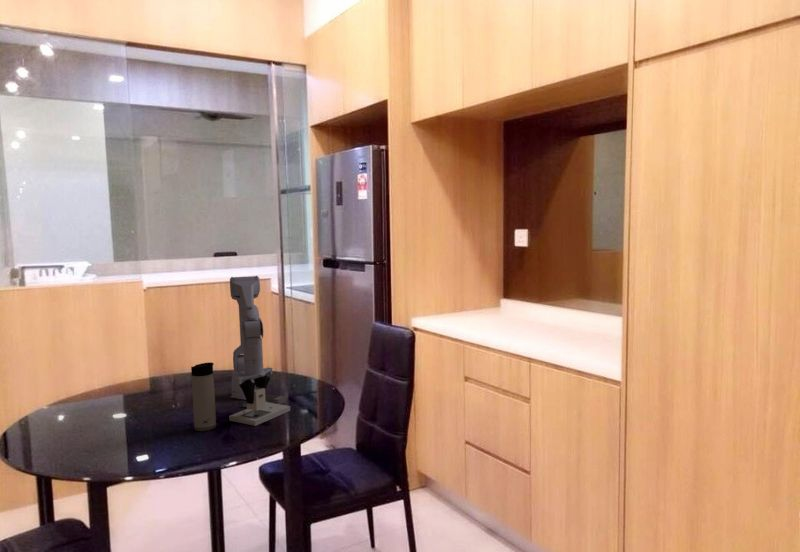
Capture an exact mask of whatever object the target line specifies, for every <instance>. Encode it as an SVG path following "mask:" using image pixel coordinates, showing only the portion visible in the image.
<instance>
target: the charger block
mask: <svg viewBox="0 0 800 552" xmlns="http://www.w3.org/2000/svg"><path fill="white" fill-rule="evenodd" d="M265 396H266V391H265V388H259V387H255V388H254V402H253V404H248V403H247V402H246V403H247V408H246V409H251V410H256V411H257V410H260V409H262V408H265V407H266V400H265Z"/></svg>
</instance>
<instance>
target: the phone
mask: <svg viewBox="0 0 800 552" xmlns="http://www.w3.org/2000/svg"><path fill="white" fill-rule="evenodd" d="M277 397H279V396H277V395H272V394H265V400H266V402H269V403H273V399H274V398H277ZM245 407H246V409H247V402H244V403H243V404H242V408H245Z"/></svg>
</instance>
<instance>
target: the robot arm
mask: <svg viewBox="0 0 800 552" xmlns="http://www.w3.org/2000/svg"><path fill="white" fill-rule="evenodd" d="M229 290H230V291H229V292H230V297H231V299H232V300H235V301H236V302H237V305H238V320H239V335H240V338H239V339H240V345H239V346H237V347H236V348H235V349H234V350H233V353H232V355H233V356H232V363H233V364H232V365H233V366H232V367H233V372H234V373H233V374H232V377H231V395H230V398H232V399H233V398H234V399H239V400H245V401H246V403H248V404H253V402H254V388H255V387H259V388H265V392H266V391H267V390H266V389H267V386H268V385H269V382H270V380H271V376H268V375H273V371H274V370H273V367H264V359H263V358H264V357H263V356H264V355H263V353H264V351H263V338H264V324H263V320H262V318H260V317H261V316H260V313H259V307H258V306H257V305H256V304H254V303H255V300H254V299H257V298H258V297H259V296H260V292H261V282H260V277H259V276H258V275H254V276H251V275H249V276H235V277H234V276H231V277H230V278H229Z"/></svg>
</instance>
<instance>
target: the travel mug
mask: <svg viewBox="0 0 800 552" xmlns="http://www.w3.org/2000/svg"><path fill="white" fill-rule="evenodd" d="M190 370H191V390H192V408H193V409H192V411H193V413H192V414H193V426H194V431H197V432H207V431H211V429H212V430H213V429H215V428H216V427H217V416H216V398H215V378H214V377H215V376H214V362H204V363H199V364H195V365H194V366H191V368H190Z"/></svg>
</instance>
